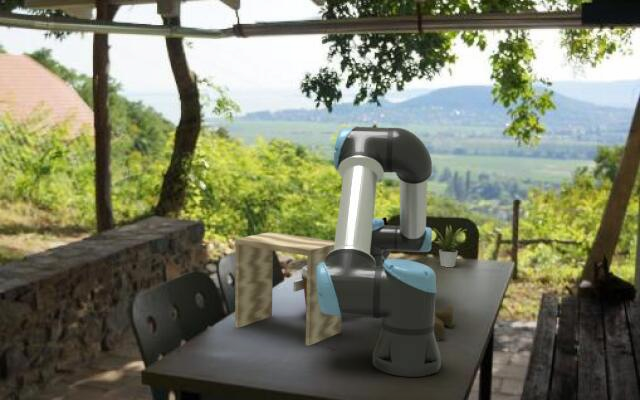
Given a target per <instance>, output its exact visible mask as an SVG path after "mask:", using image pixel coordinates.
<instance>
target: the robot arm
mask: <svg viewBox="0 0 640 400" xmlns="http://www.w3.org/2000/svg"><path fill="white" fill-rule="evenodd" d="M334 144H335V145H334V152H333V166H334V169H335V170H336V171H338V174H339V176H340V178H341V179H342V183H341V184H342V185H341V191H340V200H339V206H338V214H337V222H336V228H335V235H334V241H335V243H334V250H332V251H331V252H329V253H328V254H327V256H326V261H325V263H324V262H322V263H318V265H317V294H318V303H319V308H320V310H321V311H322V312H323V313H324V314H327V315H336V316H338V317H341V318H342V317H350V318H351V317H352V318H364V319H365V318H367V319H380V320H381V331H380V334H379V336H378V339H377V342H376V345H375V347H374V350H373V353H372V365H373V366H374V367H375V369H376V370H379V371H381V372H383V373H386V374H389V375H392V376H399V377H408V378H411V377H413V378H416V377H418V378H419V377H424V376H425V377H426V375H427V376H430V374H431V375H434V374H435V372H436V373H438V372H439V371H440V370H441V368H440V367H442V365H441V364H442V363H441V362H442V358H441V353H440V349H439V347H438V346H439V345H438V342H437V340H436V339H435V335H434V319H435V308H436V293H437V289H438V288H437V284H436V283H437V281H436V278H437V277H436V273H435V270H434V269H432V268H431V267H430V266H428V265H427V264H423V263H421V262H417V261H415V260H414V261H413V260H408V259H401V258H400V259H399V258H388V259H387V258H386V259H385V258H384V257H383V250H391V251H394V252H395V251H397V252H410V253H411V252H415V253H420V252H421V253H429V252H430V251H431V250H432V243H433V242H432V241H433V239H432V236H433V228H431V227H429V226H427V207H428V206H427V203H428V202H427V201H428V182H429V181H428V180H429V179H430V177H431V176H432V173H433V161H432V158H431V154H430V152H429V150H428V148H427V146H426V144H425V143H424V142H423V141H422V140H421V139H420V137H418V136H417V135H416V134H414V133H413V132H412V131H409V130H407V129H405V128H402V127H377V126H376V127H370V126H369V127H368V126H367V127H366V126H357V125H356V126H351V127H350V126H347V127H344V128H341V130H339V132H338V134H337V137H336V139H335V143H334ZM384 173H395V174H396V176H397V178H398V180H399V225H389V224H387V225H384V220H383V218H379V217H374V215H375V205H376V195H377V194H376V193H377V184H378V183H380V181H381V180H382V179H383V177H384ZM302 290H304V285H303V276H302V275H301V279H298V280H297V279H296V280H294V281H293V292H299V291H302ZM439 369H440V370H439ZM438 370H439V371H438ZM437 371H438V372H437ZM433 373H434V374H433Z"/></svg>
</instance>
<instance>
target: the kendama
mask: <svg viewBox="0 0 640 400" xmlns="http://www.w3.org/2000/svg"><path fill="white" fill-rule="evenodd" d="M453 325H454V307H453V306H448V307H446V308H443V309H442V308H441V309H437V308H436V307H435V319H434V335H435V339H441V340H442V339H443V338H444V337H445V335H446V328H445V326H446V327H447V326H449V327H448V328H452V327H453Z"/></svg>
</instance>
